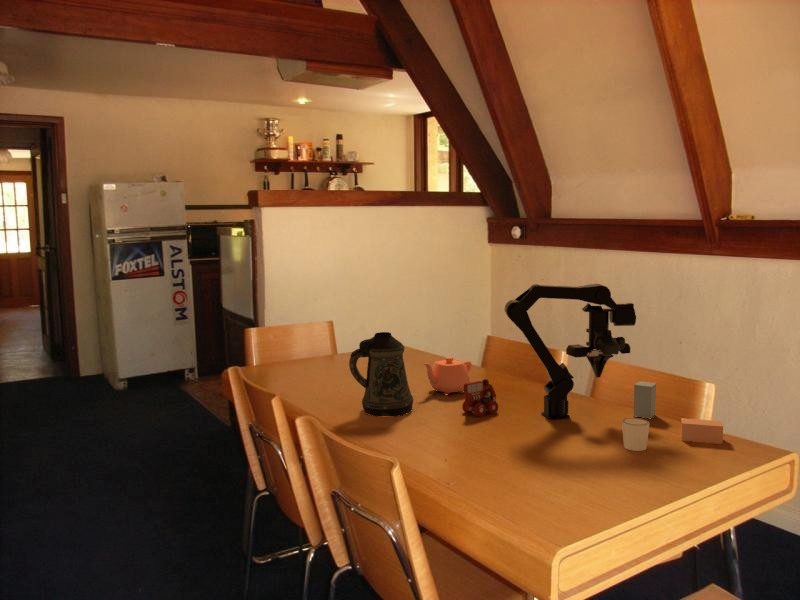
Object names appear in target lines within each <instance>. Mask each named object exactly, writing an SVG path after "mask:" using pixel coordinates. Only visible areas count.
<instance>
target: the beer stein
mask: <svg viewBox="0 0 800 600" xmlns="http://www.w3.org/2000/svg"><path fill="white" fill-rule="evenodd" d="M358 346H359V347H358V348H357V349H355V350H353V351H352V352H351V353H350V358H349V361H348V367H349V371H350V372H351V373H350V374H351V376H353V378H354V379H355V381H356V382H357V383H359V385H360V386H362V387H363V388H364V389H365V391H364V394H363V397H362V399H361V400H362V401H361V404H362V408H363V412H364V413H365V414H366V413H367V415H368V414H370V415H369V416H372V415H373V417H378V416H394V417H399V416H398V415H400V416H404V415H403V414H405V415H407V414H406V413H408V414H410V413H411V412H412V411H413V405H414V397H413V394H412V392H411V389H410V385H409V383H408V378H407V372H406V366H405V361H404V352H405V345H403V343H402V342H400V341H399V340H398V339H396V338H395V337H394V336H392V333H391V332H388V331H382V332H381V331H380V332H375V333H374V336H372V337H370V338H368V339H364V340H363V339H362V340H361V341H360V342H359V345H358ZM361 358H367V359H368V360H367V361H368V362H367V370H366V378H365V377H364V376H363V375H362V373H360V371H359V368H358V366H357V363H358V360H359V359H361ZM411 410H412V411H411ZM410 411H411V412H410ZM409 412H410V413H409Z"/></svg>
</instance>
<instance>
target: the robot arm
mask: <svg viewBox="0 0 800 600" xmlns="http://www.w3.org/2000/svg"><path fill="white" fill-rule="evenodd" d="M539 299H553V300H554V299H557V300H558V299H559V300H576V301H577V300H578V301H582V302H585V303H586V304H585V306H584V307H582V308H581V310H582V311H583V312H585V313H588V328H586V333H588V341H586V343H585V345H582V344H578V343H577V344H568V346H567V347H566V351H565V353H566V355H567V356H571V357H572V358H586V359H587V360H588V362H589V364H590V367H591V369H592V371H593V373H594V376H595V377H596V378H601V376H602V373H603V372H604V371H603V370H604V369H605V366H606V364H607V362H608V361H609V359H611V358H613V357H614V355H615V356H616V355H619V353H620V354H622V355H623V354H630V353H631V346H630V344H629V343H628V342H626V339H625V337H624V336H617V337H613V336H612V330H611V329H609V326H610V325H609V324H610V323H611V324H613V326H614V327H633V326H635V325H636V321H637V315H636V310H635V305H634V303H632V302H626V303H616V301H615V300H614V299H613V297H612V292H611V290H610V289H609V288H608V286H605V285H603V284H600V283H593V284H592V283H591V284H585V285H579V286H572V285H571V286H568V285H567V286H566V285H565V286H564V285H550V284H549V285H545V284H538V283H534V284H531V286H530V287H528V289H527V290H525V291H524V292H523V293H521V294H520V295H518V296H517V297H516V298H514V299H510V300H508V301H507V302H506V304H505V306H504V312H505V314H506V316H507V317H508V318H509V320H510V321H511V322H512V323H513V324H514V325H515V326H516V327H517V328H518V329H519V331H521V333H522V334H523V335H524V337H525V338H526V339H527V341H528V344H530V346H531V348H532V349H533V350H534V352H535V354H536V355H537V357H538V359H539V360H540V361H541V363H542V365H544V367H545V370H546V372H547V375H548V378H549V381H548V382H547V383H545V385H544V386H543V389H544V391H545V393H546V395H543V411H541V415H542V416H544V417H546V418H548V419H549V420H558V419H568V418H570V415H569V400H568V395H569V393H570V392H571V391H572V390H573V389H574V386H575V383H574V380H573V379H575V377H574V376H573V375H572V373H570V371H569V369H568V367H567V366H566V364H564V362H561V363H560V364H559V363H558V362H557V361H556V359H555V358H554V356H553V355H552V353H551V352H550V349H548V347H547V345H546V344H545V343H544V340H543V339H542V338H541V336H540V335H539V333H538V332H537V330H536V329H535V327H534V325H533V324H532V321H531V318H530V315H529V314H528V311H529V310H530V309H531V308H532V307H533V306H534V305H535V304H536V303H537V301H538V300H539ZM591 304H595V305H591ZM603 306H605V307H607V308H603ZM609 322H610V323H609Z"/></svg>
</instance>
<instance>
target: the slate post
mask: <svg viewBox="0 0 800 600" xmlns="http://www.w3.org/2000/svg"><path fill="white" fill-rule="evenodd" d="M633 387H634V389H633V392H634V393H633V417H634V416H637V417H644V418H652V417H653V416H654V415H655V416H656V412H657V411H656V408H657V407H656V406H657V405H656V402H657V400H656V399H657V383H656V382H648V381H642V380H641V381H637V382H636V383H634V386H633ZM655 416H654V417H655ZM654 417H653V418H654ZM653 418H652V419H653Z"/></svg>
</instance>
